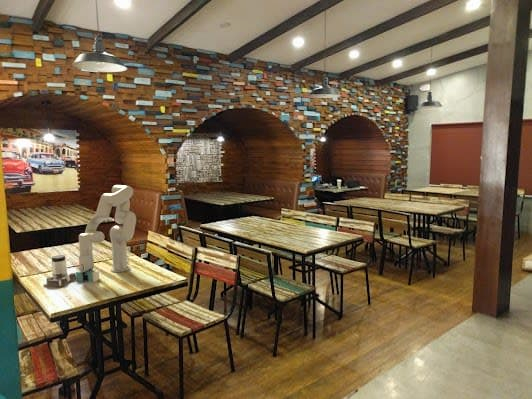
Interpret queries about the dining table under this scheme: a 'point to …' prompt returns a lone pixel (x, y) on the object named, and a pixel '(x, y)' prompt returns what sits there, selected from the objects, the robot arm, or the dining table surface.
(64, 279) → the cradle
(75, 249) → the dining table surface
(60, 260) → the jar
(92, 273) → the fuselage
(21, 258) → the dining table surface
